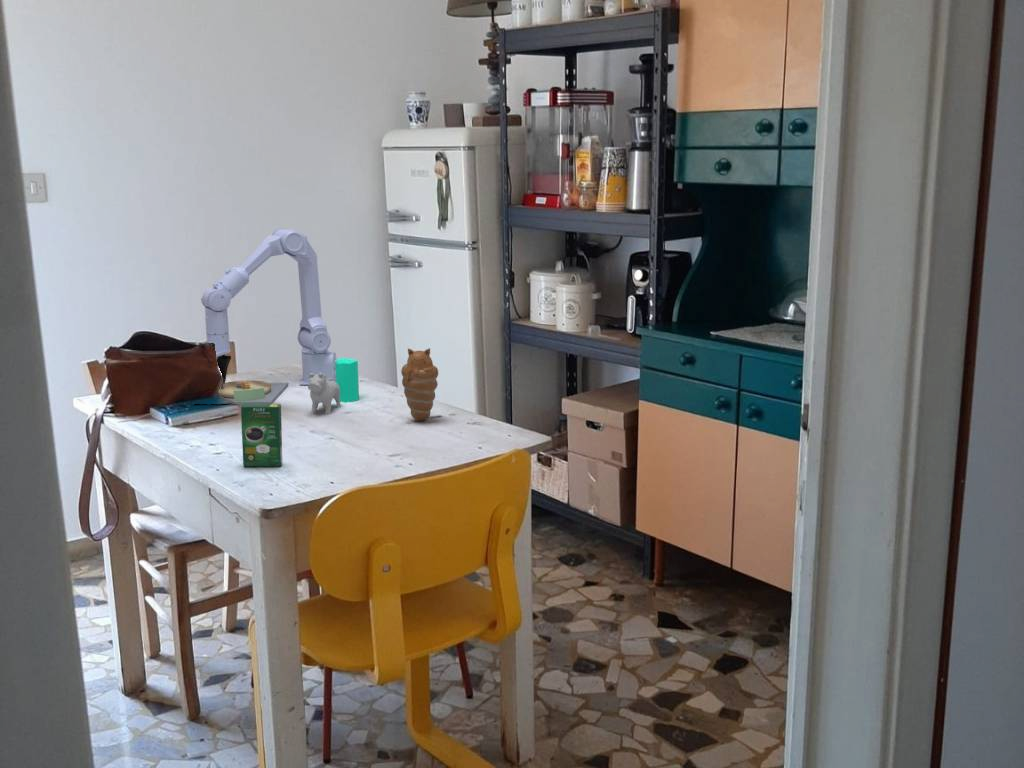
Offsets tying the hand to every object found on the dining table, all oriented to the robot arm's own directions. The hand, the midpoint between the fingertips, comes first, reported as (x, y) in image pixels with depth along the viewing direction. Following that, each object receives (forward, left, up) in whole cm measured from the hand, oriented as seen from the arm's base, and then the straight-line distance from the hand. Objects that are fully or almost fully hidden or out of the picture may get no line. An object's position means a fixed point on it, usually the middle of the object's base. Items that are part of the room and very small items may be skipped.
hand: (220, 383), depth 264 cm
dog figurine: (-31, +17, -4) cm, 35 cm away
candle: (-35, +5, -3) cm, 35 cm away
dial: (-6, 0, -2) cm, 6 cm away
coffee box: (-26, +62, -3) cm, 67 cm away
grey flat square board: (-6, 0, -3) cm, 7 cm away
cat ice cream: (-56, +27, -3) cm, 62 cm away
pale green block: (-10, +8, -2) cm, 13 cm away
